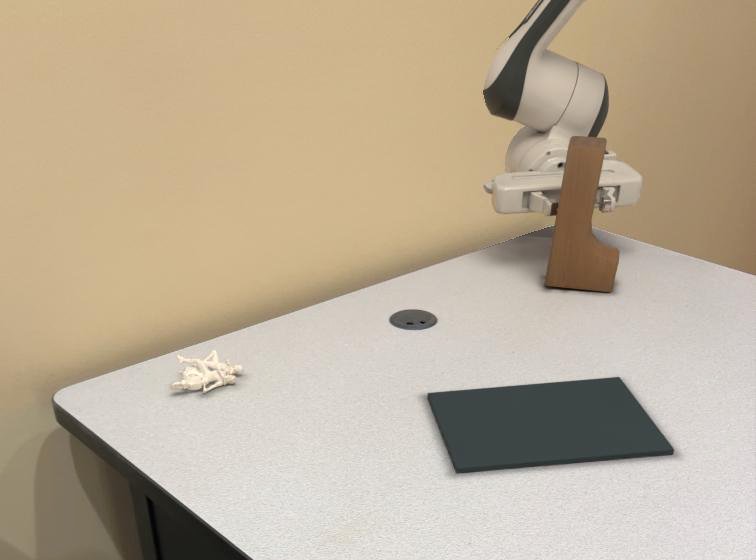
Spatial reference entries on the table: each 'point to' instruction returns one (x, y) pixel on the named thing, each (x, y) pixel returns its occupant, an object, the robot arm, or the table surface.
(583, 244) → the wooden block
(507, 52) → the robot arm
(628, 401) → the mat
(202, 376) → the figurine
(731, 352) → the table surface
